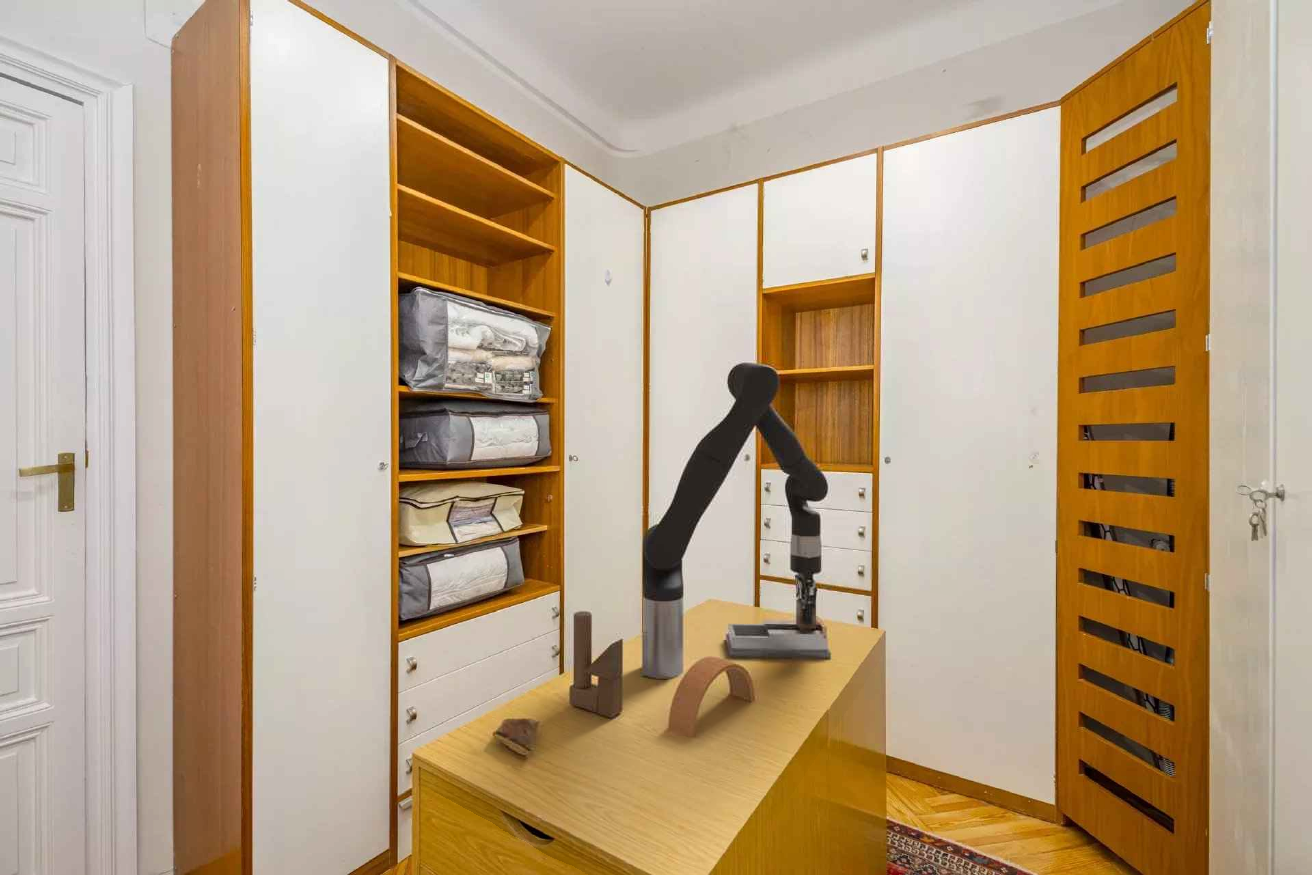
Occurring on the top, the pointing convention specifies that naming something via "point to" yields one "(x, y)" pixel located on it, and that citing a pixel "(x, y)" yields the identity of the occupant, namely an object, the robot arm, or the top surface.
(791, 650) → the track
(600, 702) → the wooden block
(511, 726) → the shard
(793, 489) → the robot arm
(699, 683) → the arch
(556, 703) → the top surface
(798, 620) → the headed peg
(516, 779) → the top surface
